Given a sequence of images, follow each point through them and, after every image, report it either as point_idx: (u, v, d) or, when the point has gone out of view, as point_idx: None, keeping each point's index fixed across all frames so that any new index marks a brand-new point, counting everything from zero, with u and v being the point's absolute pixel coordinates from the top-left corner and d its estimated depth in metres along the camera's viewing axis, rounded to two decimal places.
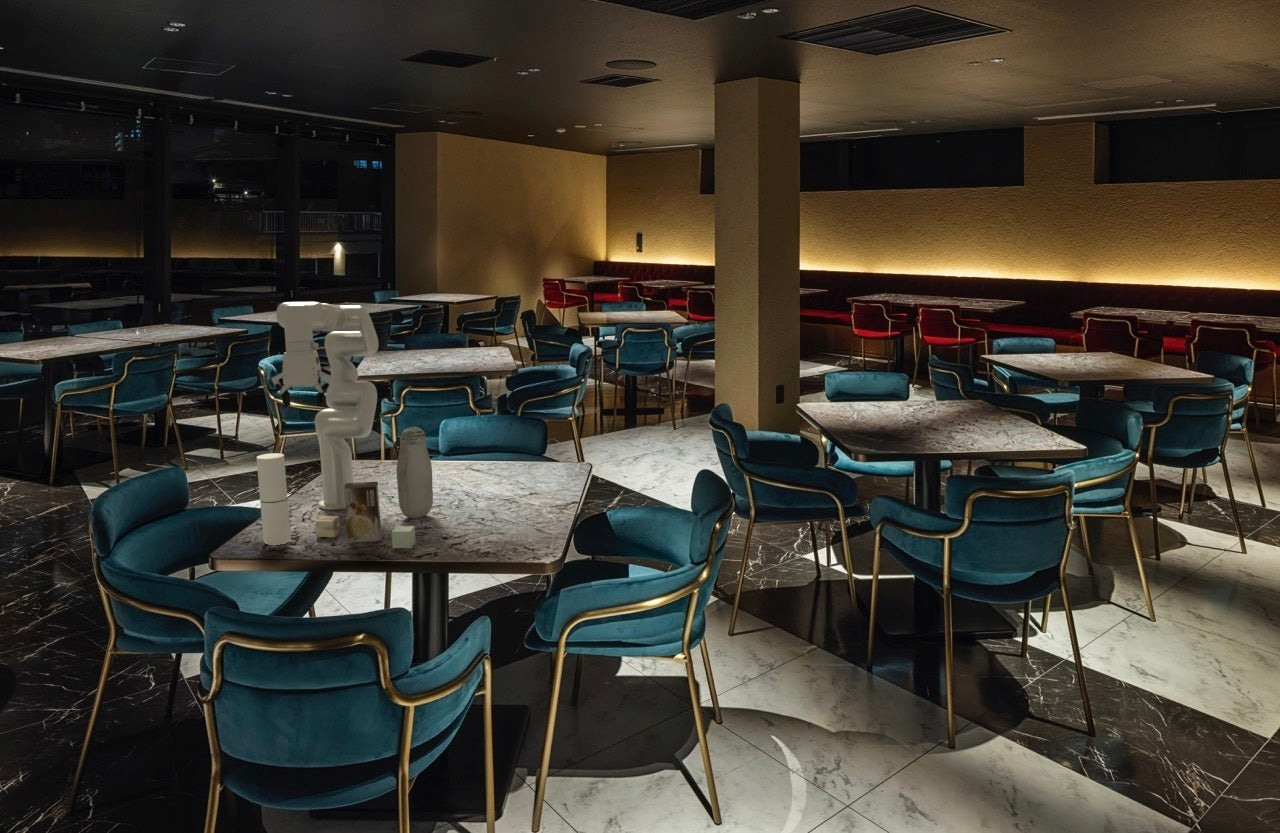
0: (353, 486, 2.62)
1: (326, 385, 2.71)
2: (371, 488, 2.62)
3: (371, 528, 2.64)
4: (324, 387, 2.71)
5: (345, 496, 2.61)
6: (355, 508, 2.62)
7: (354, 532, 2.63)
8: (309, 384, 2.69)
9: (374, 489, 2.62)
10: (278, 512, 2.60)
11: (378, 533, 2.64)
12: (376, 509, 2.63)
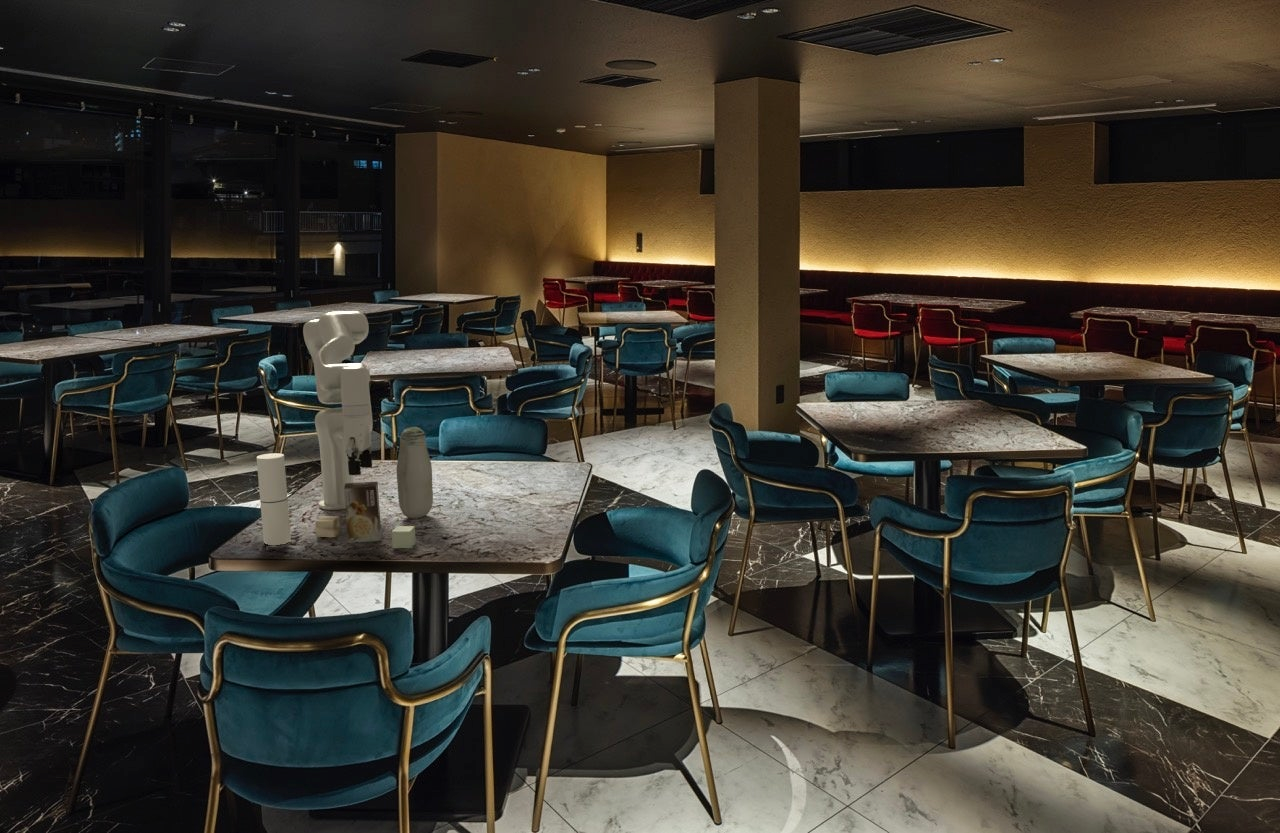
0: (353, 486, 2.62)
1: None
2: (371, 488, 2.62)
3: (371, 528, 2.64)
4: (369, 447, 2.68)
5: (345, 496, 2.61)
6: (355, 508, 2.62)
7: (354, 532, 2.63)
8: (369, 446, 2.64)
9: (374, 489, 2.62)
10: (278, 512, 2.60)
11: (378, 533, 2.64)
12: (376, 509, 2.63)
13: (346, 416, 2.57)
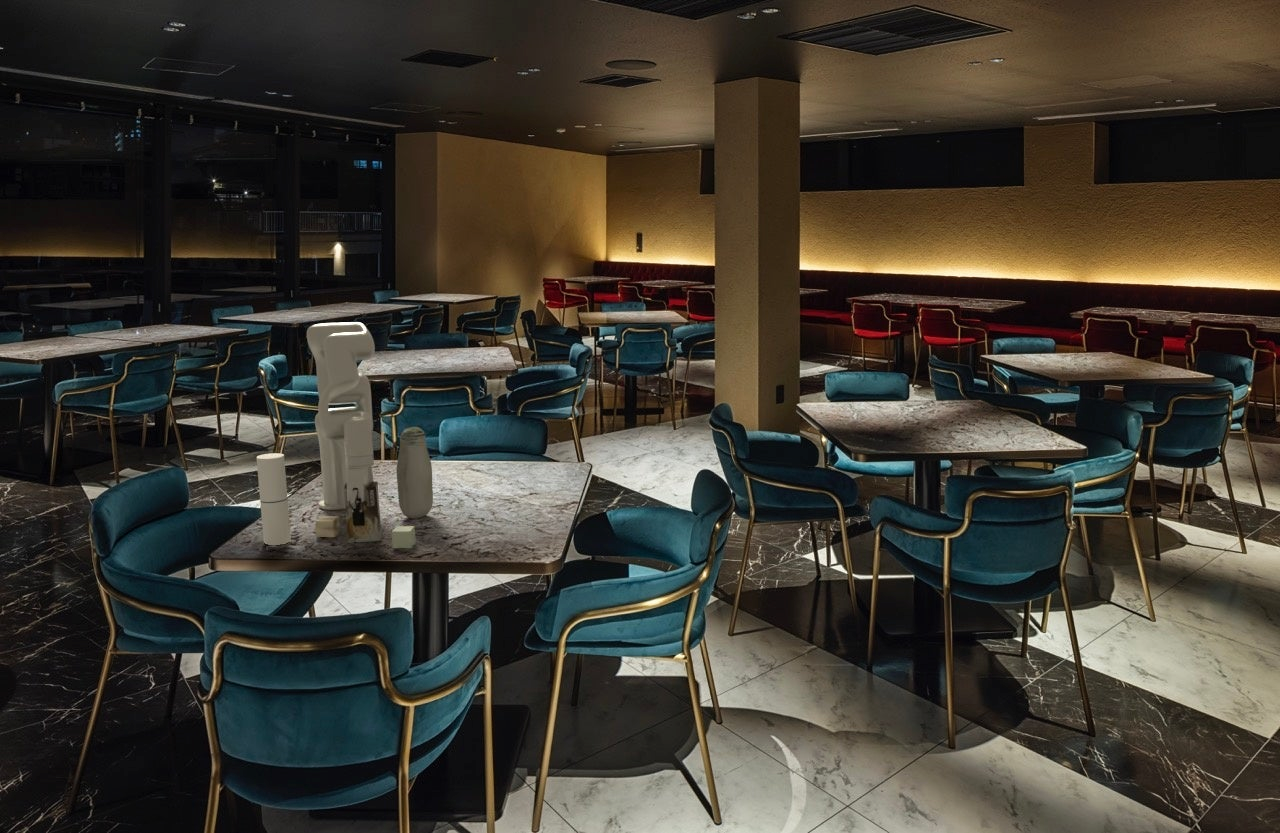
0: None
1: None
2: (371, 488, 2.62)
3: (371, 528, 2.64)
4: None
5: (345, 496, 2.61)
6: None
7: (354, 532, 2.63)
8: None
9: (374, 489, 2.62)
10: (278, 512, 2.60)
11: (378, 533, 2.64)
12: (376, 509, 2.63)
13: (349, 466, 2.60)
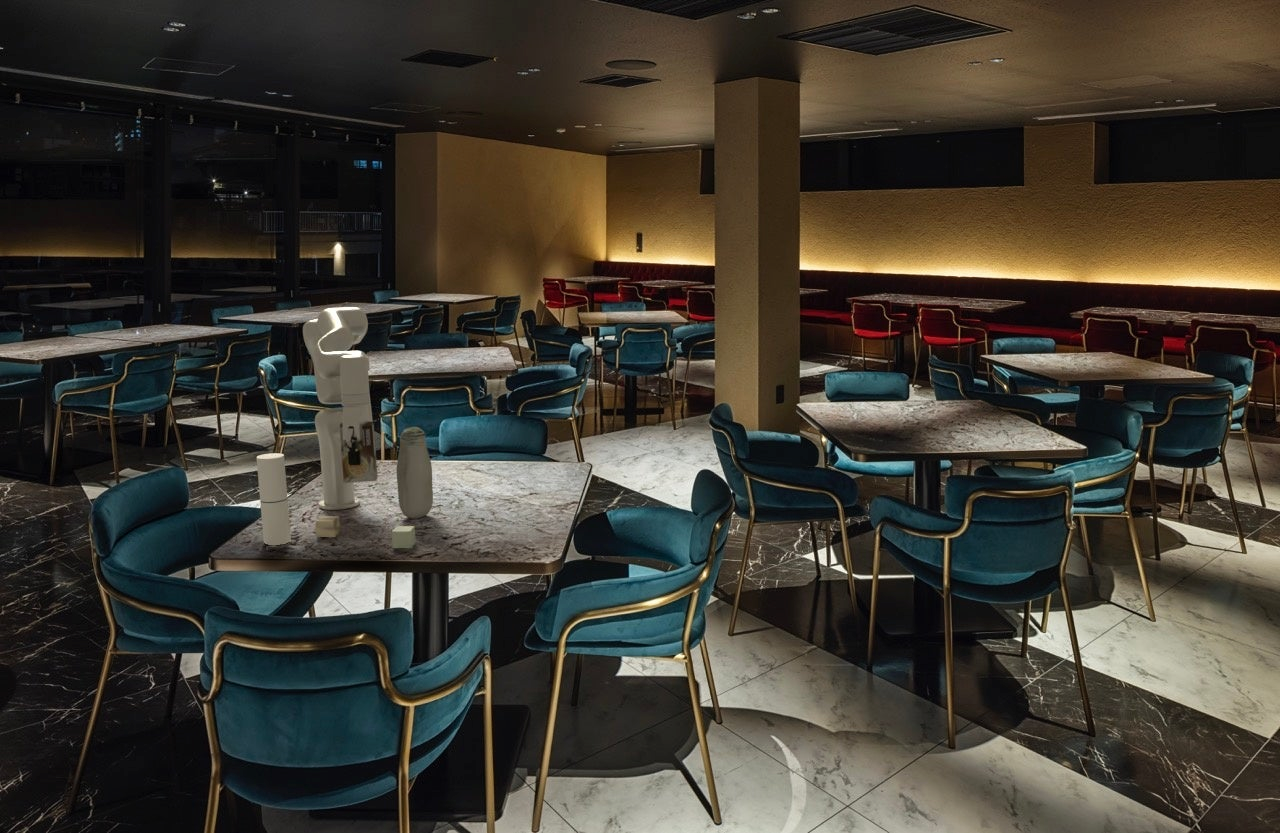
0: None
1: None
2: (367, 427, 2.59)
3: (367, 468, 2.61)
4: None
5: (341, 435, 2.58)
6: None
7: (349, 472, 2.60)
8: None
9: (370, 428, 2.59)
10: (278, 512, 2.60)
11: (374, 473, 2.62)
12: (372, 449, 2.60)
13: (345, 405, 2.57)
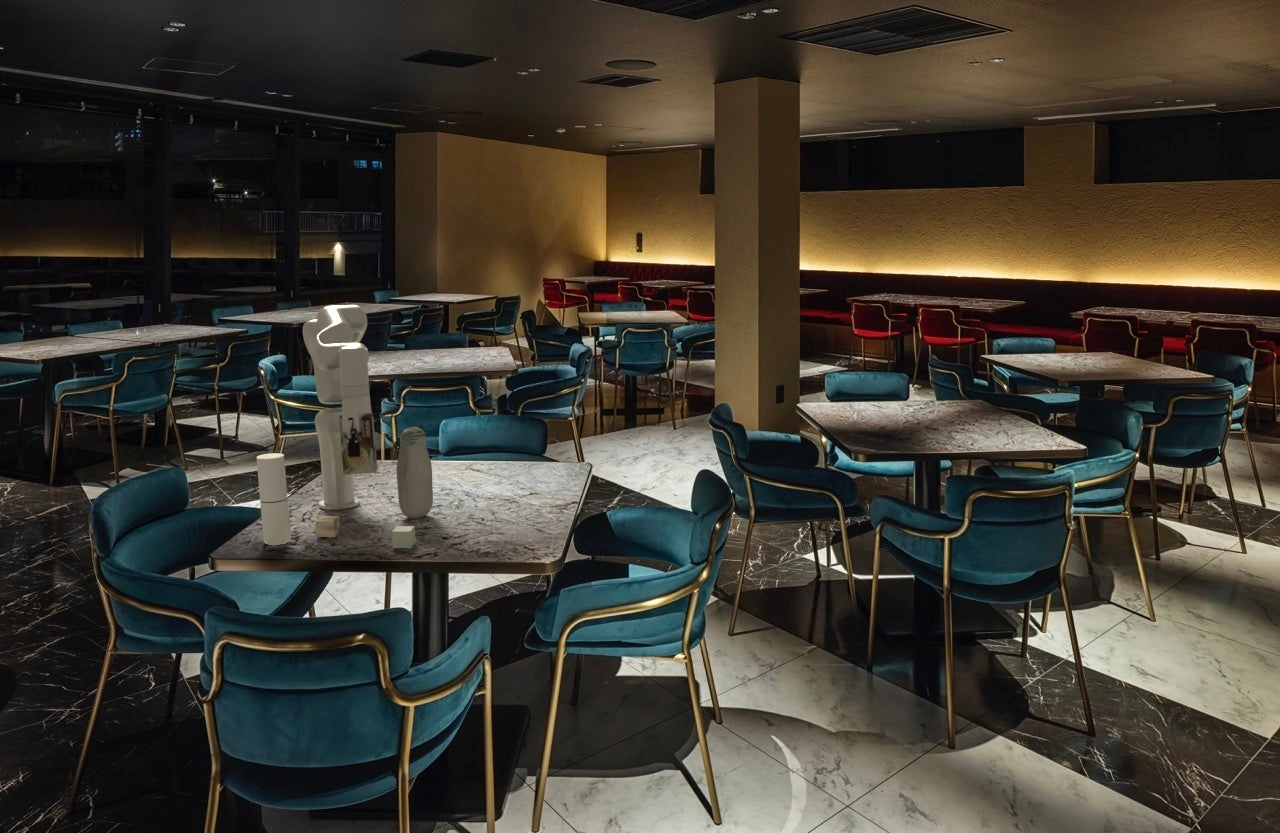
0: None
1: None
2: (366, 418, 2.58)
3: (366, 460, 2.60)
4: None
5: (340, 426, 2.57)
6: None
7: (349, 463, 2.59)
8: None
9: (370, 420, 2.58)
10: (278, 512, 2.60)
11: (374, 465, 2.61)
12: (372, 440, 2.60)
13: (345, 396, 2.56)
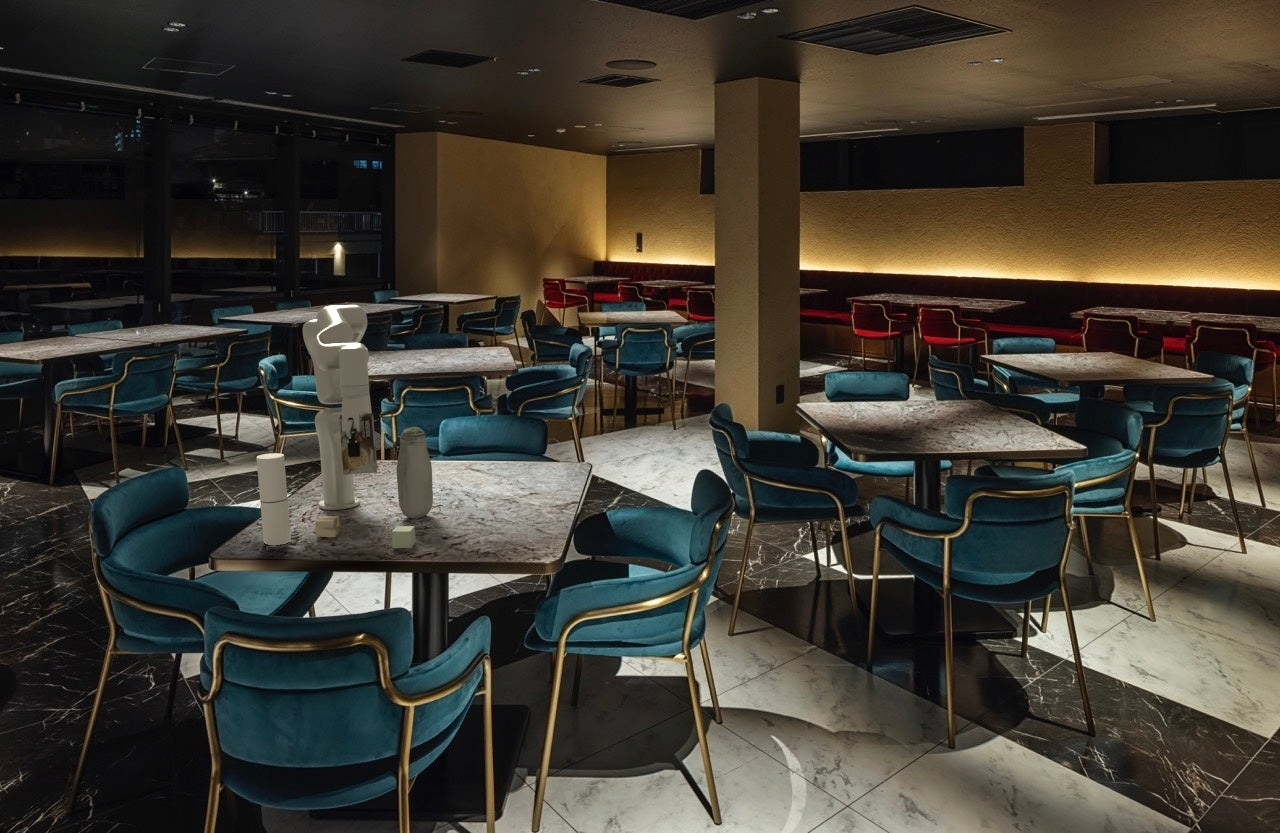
0: None
1: None
2: (366, 418, 2.58)
3: (366, 460, 2.60)
4: None
5: (340, 426, 2.57)
6: None
7: (349, 463, 2.59)
8: None
9: (370, 420, 2.58)
10: (278, 512, 2.60)
11: (374, 465, 2.61)
12: (372, 440, 2.60)
13: (345, 396, 2.56)
